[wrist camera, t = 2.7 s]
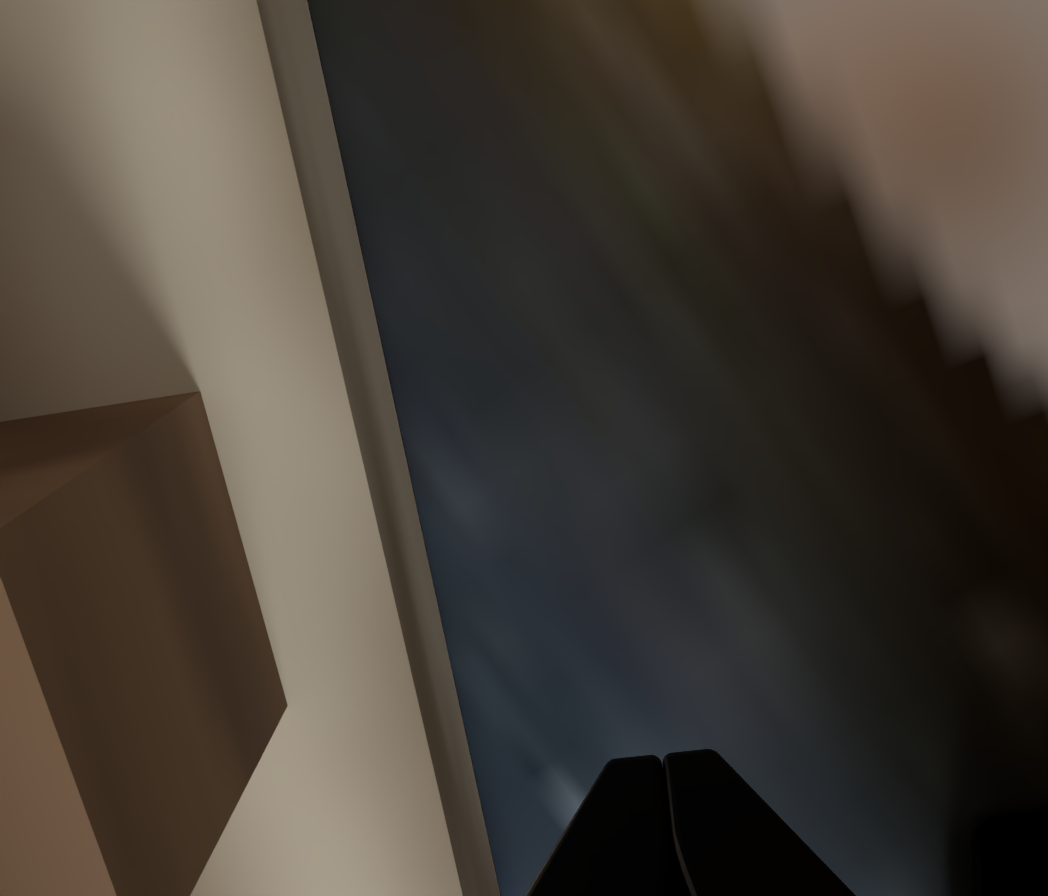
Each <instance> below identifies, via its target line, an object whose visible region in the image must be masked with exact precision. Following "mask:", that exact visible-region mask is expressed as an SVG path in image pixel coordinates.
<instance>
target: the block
mask: <svg viewBox="0 0 1048 896" xmlns="http://www.w3.org/2000/svg"><path fill="white" fill-rule="evenodd" d="M287 706H288V705H287V701H286V698H285V694H284V691H283V687H282V683H281V680H280V676H279V673H278V669H277V665H276V662H275V658H274V655H273V651H272V647H271V644H270V640H269V637H268V633H267V629H266V626H265V622H264V619H263V615H262V611H261V608H260V604H259V601H258V597H257V593H256V590H255V586H254V583H253V579H252V575H251V572H250V568H249V565H248V561H247V557H246V554H245V550H244V547H243V543H242V539H241V536H240V532H239V529H238V525H237V521H236V518H235V514H234V511H233V507H232V503H231V500H230V496H229V493H228V489H227V485H226V482H225V478H224V475H223V471H222V467H221V464H220V460H219V457H218V453H217V449H216V446H215V442H214V439H213V435H212V431H211V428H210V424H209V421H208V417H207V413H206V410H205V406H204V403H203V399H202V395H201V392H200V391H198V392H191V393H185V394H178V395H172V396H165V397H159V398H152V399H146V400H139V401H133V402H126V403H120V404H113V405H107V406H100V407H94V408H87V409H81V410H74V411H68V412H61V413H55V414H48V415H42V416H35V417H29V418H22V419H16V420H9V421H3V422H0V896H190V895H191V893H192V891H193V889H194V887H195V886H196V884H197V882H198V880H199V878H200V876H201V874H202V872H203V870H204V868H205V866H206V864H207V862H208V860H209V858H210V856H211V854H212V852H213V850H214V848H215V847H216V845H217V843H218V841H219V839H220V837H221V835H222V833H223V831H224V829H225V827H226V825H227V823H228V821H229V819H230V817H231V815H232V813H233V811H234V810H235V808H236V806H237V804H238V802H239V800H240V798H241V796H242V794H243V792H244V790H245V788H246V786H247V784H248V782H249V780H250V778H251V776H252V774H253V772H254V771H255V769H256V767H257V765H258V763H259V761H260V759H261V757H262V755H263V753H264V751H265V749H266V747H267V745H268V743H269V741H270V739H271V737H272V735H273V733H274V732H275V730H276V728H277V726H278V724H279V722H280V720H281V718H282V716H283V714H284V712H285V710H286V708H287Z"/></svg>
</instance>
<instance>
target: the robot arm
mask: <svg viewBox="0 0 1048 896" xmlns="http://www.w3.org/2000/svg"><path fill="white" fill-rule="evenodd" d="M1006 843H1013V844H1012V845H1011V846H1010V847H1009V848H1007V849H1004V850H1001V851H1000V850H996V849H997V848H999V847H1000V846H1001V845H1003V844H1006ZM971 845H972V875H973V896H1048V811H1045V812H1035V813H1024V814H1014V815H1003V816H997V817H993V818H989V819H987V820H986V821H984V822H983V823H981V824H979V826H978V827H977V828H976V830H975V831H974V832H973V836H972V841H971ZM525 896H856V895H855V894H854V893H853V892H852V891H851V890H850V889H849V888H848V887H847V886H846V885H845V884H844V883H843V882H842V881H841V880H840V879H839V878H838V877H837V876H836V875H835V874H834V873H833V872H832V871H831V870H830V869H829V867H828V866H827V865H826V864H825V863H824V862H823V861H822V860H821V859H820V858H819V857H818V856H817V855H816V854H815V853H814V852H813V851H812V850H811V849H810V848H809V847H808V846H807V845H806V844H805V843H804V842H803V841H802V840H801V839H800V837H799V836H798V835H797V834H796V833H795V832H794V831H793V830H792V829H791V828H790V827H789V826H788V825H787V824H786V823H785V822H784V821H783V820H782V819H781V818H780V817H779V816H778V815H777V814H776V813H775V812H774V811H773V810H772V809H771V807H770V806H769V805H768V804H767V803H766V802H765V801H764V800H763V799H762V798H761V797H760V796H759V795H758V794H757V793H756V792H755V791H754V790H753V789H752V788H751V787H750V786H749V785H748V784H747V783H746V782H745V781H744V780H743V779H742V777H741V776H740V775H739V774H738V773H737V772H736V771H735V770H734V769H733V768H732V767H731V766H730V765H729V764H728V763H727V762H726V761H725V760H724V759H723V758H722V757H721V756H720V755H719V754H718V753H717V752H716V751H714V750H712V749H702V750H693V751H684V752H674V753H669V754H667V755H666V756H665V757H664V759H663V767H662V763H661V760H660V759H659V758H658V757H657V756H655V755H646V756H636V757H626V758H616V759H612V760H610V761H609V762H608V763H607V764H606V765H605V766H604V768H603V770H602V771H601V773H600V775H599V776H598V778H597V779H596V781H595V783H594V784H593V786H592V787H591V789H590V791H589V792H588V794H587V796H586V797H585V799H584V800H583V802H582V804H581V805H580V807H579V809H578V810H577V812H576V813H575V815H574V817H573V818H572V820H571V821H570V823H569V825H568V826H567V828H566V830H565V831H564V833H563V834H562V836H561V838H560V839H559V841H558V843H557V844H556V846H555V847H554V849H553V851H552V852H551V854H550V855H549V857H548V859H547V860H546V862H545V864H544V865H543V867H542V868H541V870H540V872H539V873H538V875H537V877H536V878H535V880H534V881H533V883H532V885H531V886H530V888H529V889H528V891H527V893H526V894H525Z"/></svg>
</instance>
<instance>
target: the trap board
mask: <svg viewBox="0 0 1048 896" xmlns="http://www.w3.org/2000/svg"><path fill="white" fill-rule="evenodd" d="M198 391H200V392H201V395H202V399H203V403H204V406H205V410H206V413H207V417H208V421H209V424H210V428H211V431H212V435H213V439H214V442H215V446H216V449H217V453H218V457H219V460H220V464H221V467H222V471H223V475H224V478H225V482H226V485H227V489H228V493H229V496H230V500H231V503H232V507H233V511H234V514H235V518H236V521H237V525H238V529H239V532H240V536H241V539H242V543H243V547H244V550H245V554H246V557H247V561H248V565H249V568H250V572H251V575H252V579H253V583H254V586H255V590H256V593H257V597H258V601H259V604H260V608H261V611H262V615H263V619H264V622H265V626H266V629H267V633H268V637H269V640H270V644H271V647H272V651H273V655H274V658H275V662H276V665H277V669H278V673H279V676H280V680H281V683H282V687H283V691H284V694H285V698H286V701H287V705H288V706H287V708H286V710H285V712H284V714H283V716H282V718H281V720H280V722H279V724H278V726H277V728H276V730H275V732H274V733H273V735H272V737H271V739H270V741H269V743H268V745H267V747H266V749H265V751H264V753H263V755H262V757H261V759H260V761H259V763H258V765H257V767H256V769H255V771H254V772H253V774H252V776H251V778H250V780H249V782H248V784H247V786H246V788H245V790H244V792H243V794H242V796H241V798H240V800H239V802H238V804H237V806H236V808H235V810H234V811H233V813H232V815H231V817H230V819H229V821H228V823H227V825H226V827H225V829H224V831H223V833H222V835H221V837H220V839H219V841H218V843H217V845H216V847H215V848H214V850H213V852H212V854H211V856H210V858H209V860H208V862H207V864H206V866H205V868H204V870H203V872H202V874H201V876H200V878H199V880H198V882H197V884H196V886H195V887H194V889H193V891H192V893H191V895H190V896H500V891H499V886H498V882H497V877H496V873H495V868H494V863H493V859H492V854H491V849H490V845H489V840H488V835H487V831H486V826H485V822H484V817H483V812H482V808H481V803H480V798H479V794H478V789H477V785H476V780H475V775H474V771H473V766H472V761H471V757H470V752H469V748H468V743H467V738H466V734H465V729H464V724H463V720H462V715H461V710H460V706H459V701H458V697H457V692H456V687H455V683H454V678H453V673H452V669H451V664H450V660H449V655H448V650H447V646H446V641H445V636H444V632H443V627H442V623H441V618H440V613H439V609H438V604H437V599H436V595H435V590H434V585H433V581H432V576H431V572H430V567H429V562H428V558H427V553H426V548H425V544H424V539H423V535H422V530H421V525H420V521H419V516H418V511H417V507H416V502H415V497H414V493H413V488H412V484H411V479H410V474H409V470H408V465H407V460H406V456H405V451H404V447H403V442H402V437H401V433H400V428H399V423H398V419H397V414H396V410H395V405H394V400H393V396H392V391H391V386H390V382H389V377H388V372H387V368H386V363H385V359H384V354H383V349H382V345H381V340H380V335H379V331H378V326H377V322H376V317H375V312H374V308H373V303H372V298H371V294H370V289H369V285H368V280H367V275H366V271H365V266H364V261H363V257H362V252H361V247H360V243H359V238H358V234H357V229H356V224H355V220H354V215H353V210H352V206H351V201H350V197H349V192H348V187H347V183H346V178H345V173H344V169H343V164H342V160H341V155H340V150H339V146H338V141H337V136H336V132H335V127H334V122H333V118H332V113H331V109H330V104H329V99H328V95H327V90H326V85H325V81H324V76H323V72H322V67H321V62H320V58H319V53H318V48H317V44H316V39H315V35H314V30H313V25H312V21H311V16H310V11H309V7H308V2H307V0H0V422H3V421H9V420H16V419H22V418H29V417H35V416H42V415H48V414H55V413H61V412H68V411H74V410H81V409H87V408H94V407H100V406H107V405H113V404H120V403H126V402H133V401H139V400H146V399H152V398H159V397H165V396H172V395H178V394H185V393H191V392H198Z"/></svg>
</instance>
